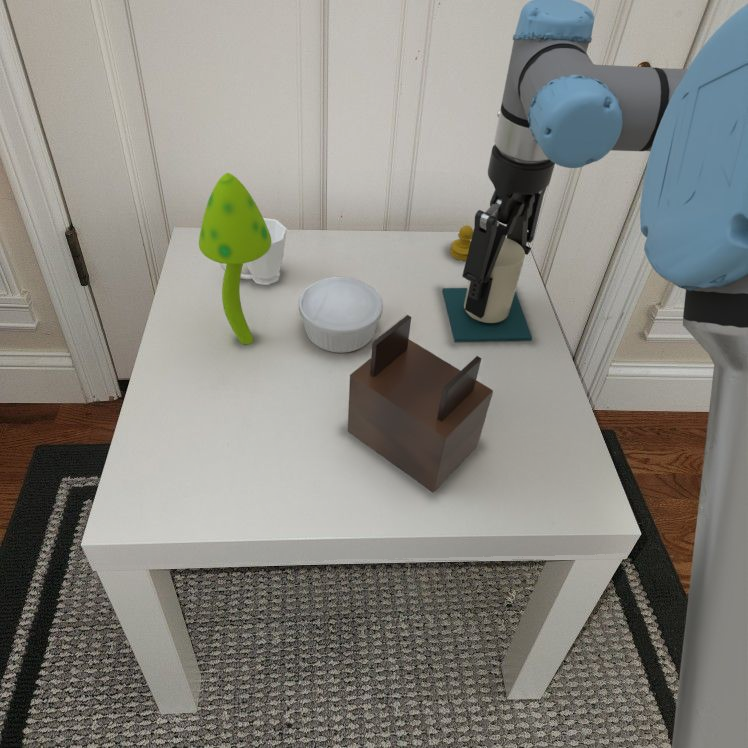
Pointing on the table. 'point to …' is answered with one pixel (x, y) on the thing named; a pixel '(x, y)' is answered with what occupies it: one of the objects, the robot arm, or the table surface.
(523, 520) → the table surface
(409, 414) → the holder
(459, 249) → the chess piece
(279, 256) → the cup
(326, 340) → the ramekin
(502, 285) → the cream cylinder
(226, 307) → the mushroom
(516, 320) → the mat
